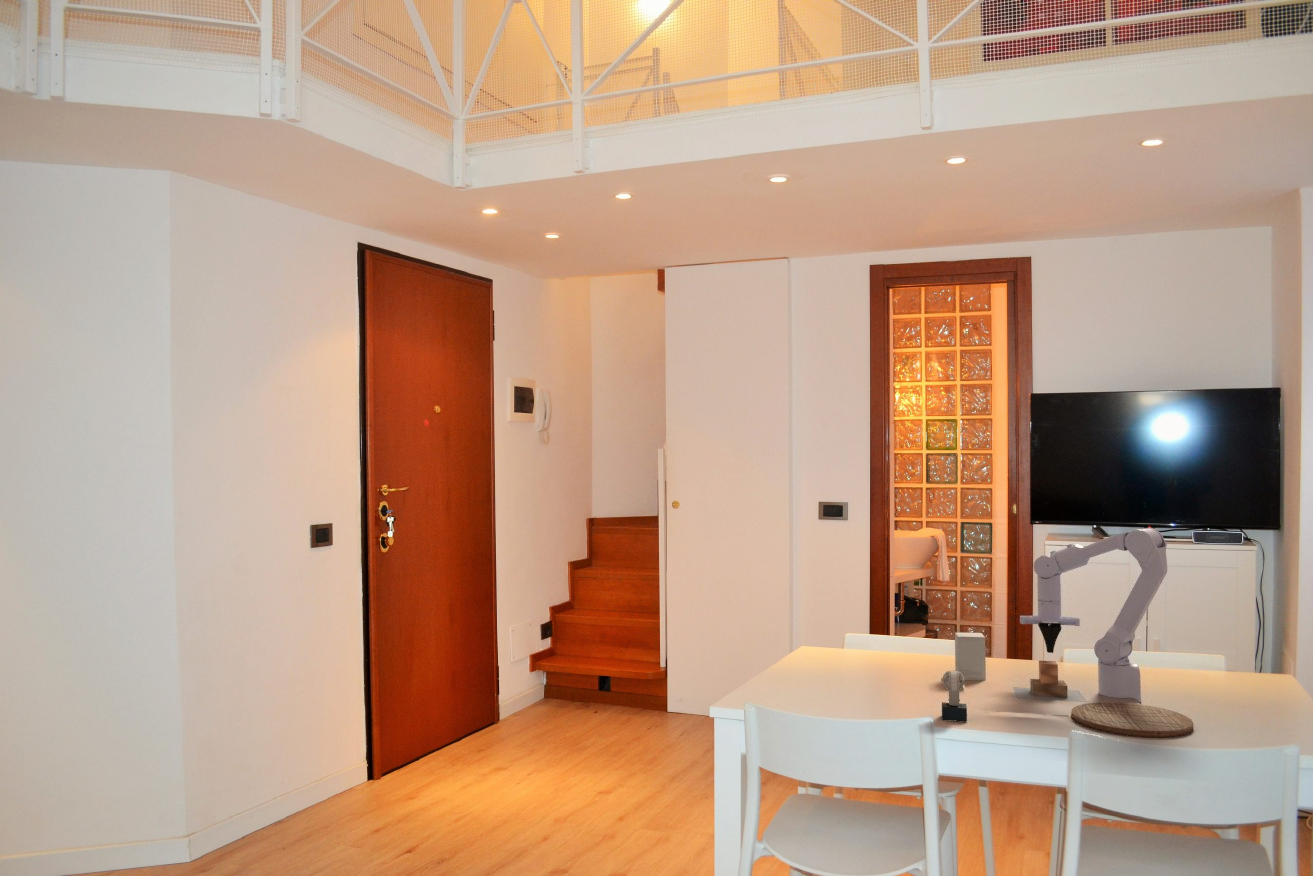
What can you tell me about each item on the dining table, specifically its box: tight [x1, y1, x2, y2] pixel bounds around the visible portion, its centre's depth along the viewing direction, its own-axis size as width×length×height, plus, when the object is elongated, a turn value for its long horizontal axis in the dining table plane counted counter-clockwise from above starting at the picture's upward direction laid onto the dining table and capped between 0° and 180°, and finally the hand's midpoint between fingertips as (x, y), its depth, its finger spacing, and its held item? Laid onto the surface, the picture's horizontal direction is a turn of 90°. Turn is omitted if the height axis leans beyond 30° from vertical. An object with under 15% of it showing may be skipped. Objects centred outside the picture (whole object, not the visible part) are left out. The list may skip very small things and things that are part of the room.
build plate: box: [1012, 686, 1088, 703], centre depth 243 cm, size 16×12×1 cm
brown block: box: [1029, 678, 1068, 698], centre depth 243 cm, size 8×6×3 cm
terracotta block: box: [1038, 660, 1059, 684], centre depth 243 cm, size 4×4×5 cm
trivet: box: [1071, 701, 1194, 739], centre depth 220 cm, size 25×25×2 cm
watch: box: [940, 670, 968, 722], centre depth 224 cm, size 6×8×11 cm
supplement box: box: [954, 632, 987, 681], centre depth 263 cm, size 7×7×13 cm
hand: (1050, 652), depth 254 cm, fingers closed
